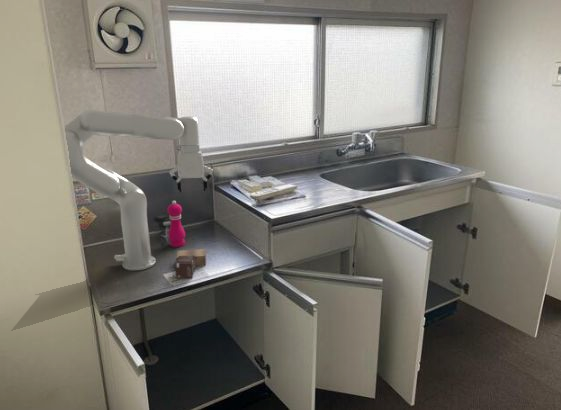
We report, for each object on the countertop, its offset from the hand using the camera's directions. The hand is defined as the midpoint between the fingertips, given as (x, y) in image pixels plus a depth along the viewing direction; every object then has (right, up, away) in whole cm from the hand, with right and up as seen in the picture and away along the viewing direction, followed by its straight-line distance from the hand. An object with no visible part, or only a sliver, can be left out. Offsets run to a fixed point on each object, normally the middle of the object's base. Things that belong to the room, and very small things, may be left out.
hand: (192, 190), depth 179 cm
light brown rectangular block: (0, -29, -3) cm, 29 cm away
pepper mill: (-10, -23, +15) cm, 29 cm away
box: (0, -27, -10) cm, 29 cm away
